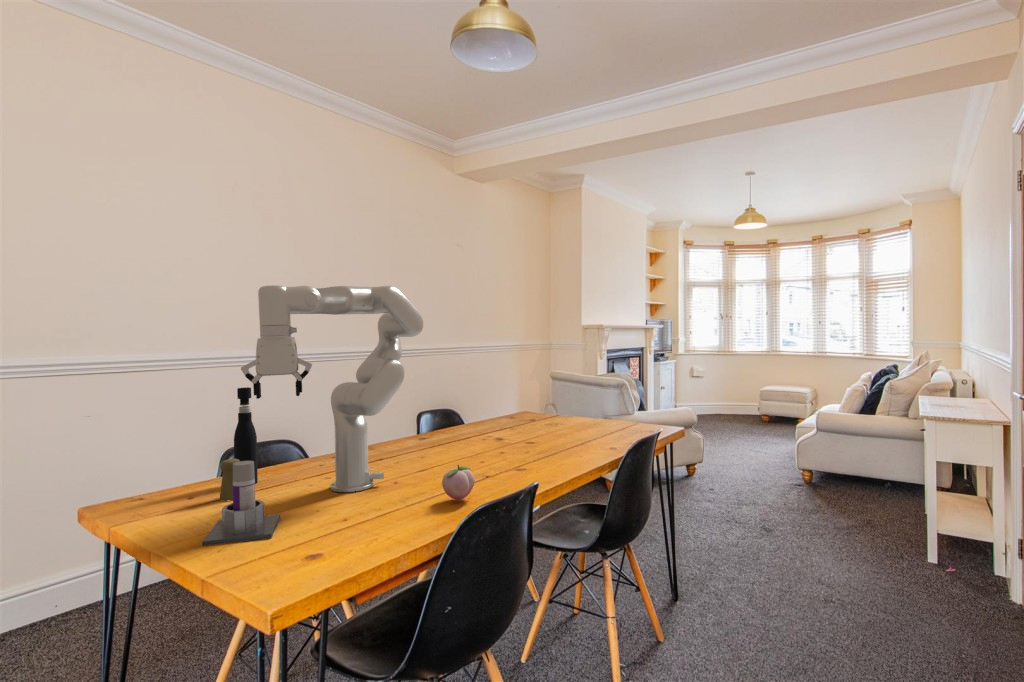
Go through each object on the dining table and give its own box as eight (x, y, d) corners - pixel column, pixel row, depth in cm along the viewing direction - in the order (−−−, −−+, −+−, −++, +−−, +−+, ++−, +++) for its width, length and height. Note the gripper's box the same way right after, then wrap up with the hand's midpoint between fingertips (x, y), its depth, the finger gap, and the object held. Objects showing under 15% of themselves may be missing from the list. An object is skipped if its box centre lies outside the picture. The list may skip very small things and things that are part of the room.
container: (231, 526, 124) (230, 462, 124) (253, 521, 127) (251, 459, 127) (236, 531, 121) (234, 466, 121) (258, 526, 124) (256, 462, 124)
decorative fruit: (454, 494, 150) (453, 459, 150) (479, 497, 146) (478, 462, 146) (435, 504, 142) (434, 467, 141) (461, 507, 138) (461, 469, 138)
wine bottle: (230, 485, 163) (227, 388, 163) (247, 480, 169) (245, 386, 169) (245, 487, 161) (243, 389, 160) (262, 481, 167) (260, 387, 166)
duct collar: (280, 517, 132) (280, 494, 132) (271, 538, 119) (270, 511, 119) (218, 524, 129) (218, 499, 129) (201, 545, 115) (201, 518, 115)
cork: (233, 501, 147) (232, 462, 146) (214, 500, 148) (213, 461, 148) (248, 495, 152) (247, 457, 152) (230, 494, 154) (229, 456, 154)
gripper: (311, 331, 146) (314, 392, 146) (242, 333, 140) (245, 397, 141) (309, 331, 138) (312, 396, 139) (236, 333, 133) (239, 401, 134)
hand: (278, 396), depth 140 cm, fingers open, 9 cm apart
